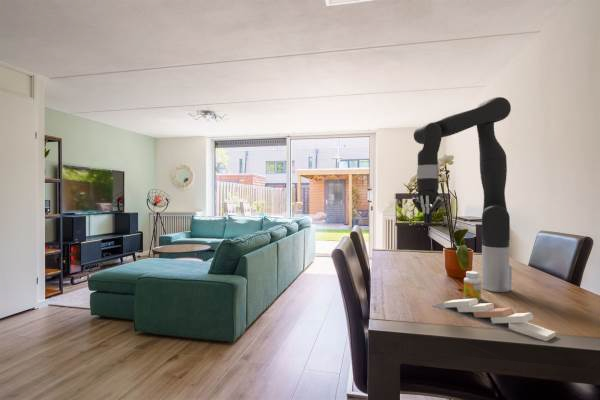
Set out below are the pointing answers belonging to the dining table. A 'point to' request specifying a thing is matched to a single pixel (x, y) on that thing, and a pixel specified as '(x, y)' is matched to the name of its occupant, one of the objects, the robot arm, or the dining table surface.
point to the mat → (471, 316)
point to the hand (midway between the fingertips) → (427, 223)
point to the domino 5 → (532, 330)
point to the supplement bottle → (472, 285)
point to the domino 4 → (513, 318)
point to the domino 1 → (460, 303)
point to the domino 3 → (494, 312)
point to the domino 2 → (477, 308)
